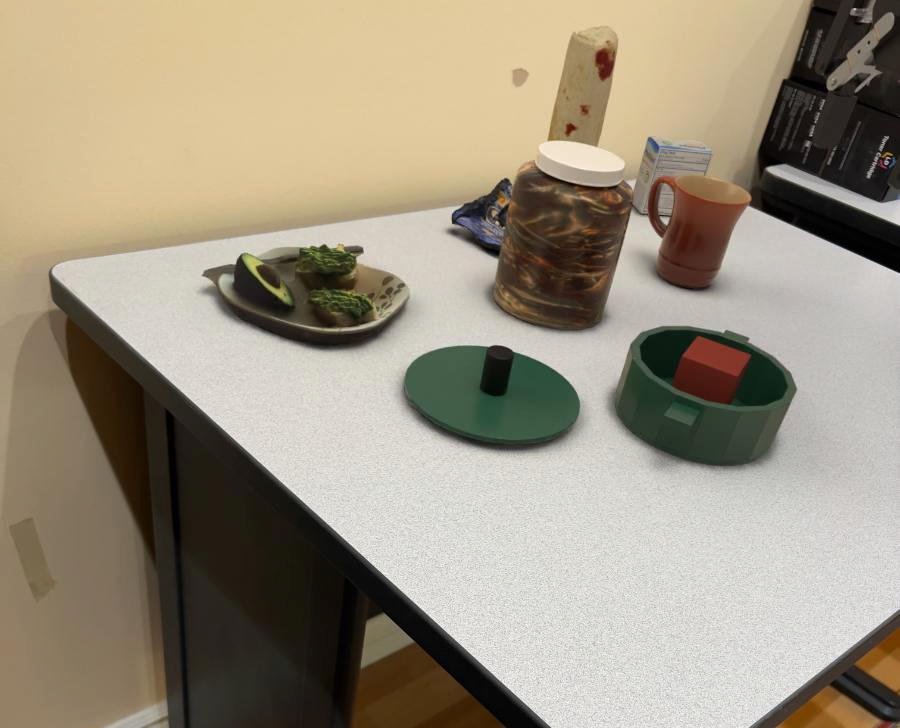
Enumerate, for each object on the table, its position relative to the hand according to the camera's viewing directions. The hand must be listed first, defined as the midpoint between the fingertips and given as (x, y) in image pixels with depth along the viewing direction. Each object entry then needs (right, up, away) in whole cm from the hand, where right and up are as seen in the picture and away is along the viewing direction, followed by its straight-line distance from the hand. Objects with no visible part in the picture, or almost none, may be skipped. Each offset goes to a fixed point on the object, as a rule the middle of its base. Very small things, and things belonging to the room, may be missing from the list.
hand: (859, 166), depth 67 cm
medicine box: (-2, +21, +55) cm, 59 cm away
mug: (-4, +6, +39) cm, 40 cm away
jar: (-21, -1, +28) cm, 34 cm away
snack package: (-25, +11, +40) cm, 48 cm away
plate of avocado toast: (-45, -4, +20) cm, 49 cm away
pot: (-9, -16, +14) cm, 23 cm away
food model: (-16, +21, +53) cm, 59 cm away
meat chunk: (-9, -16, +14) cm, 23 cm away
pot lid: (-27, -15, +11) cm, 33 cm away
